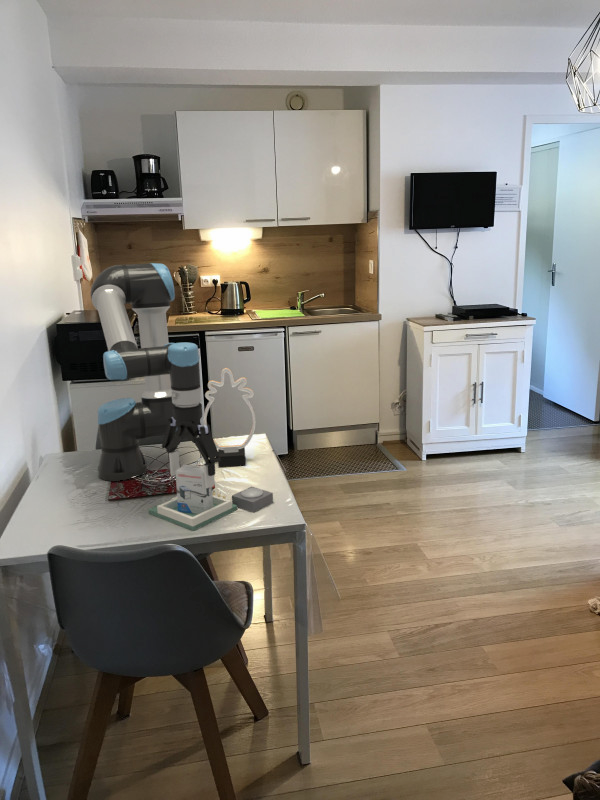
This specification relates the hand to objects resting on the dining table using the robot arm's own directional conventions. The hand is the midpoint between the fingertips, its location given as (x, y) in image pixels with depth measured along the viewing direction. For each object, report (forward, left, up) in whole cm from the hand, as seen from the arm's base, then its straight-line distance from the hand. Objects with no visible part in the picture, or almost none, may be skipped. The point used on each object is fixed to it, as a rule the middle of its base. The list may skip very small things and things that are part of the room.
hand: (192, 480), depth 172 cm
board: (-2, +1, -10) cm, 10 cm away
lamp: (-21, +35, -10) cm, 42 cm away
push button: (+8, +14, -10) cm, 19 cm away
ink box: (0, 0, -9) cm, 9 cm away
